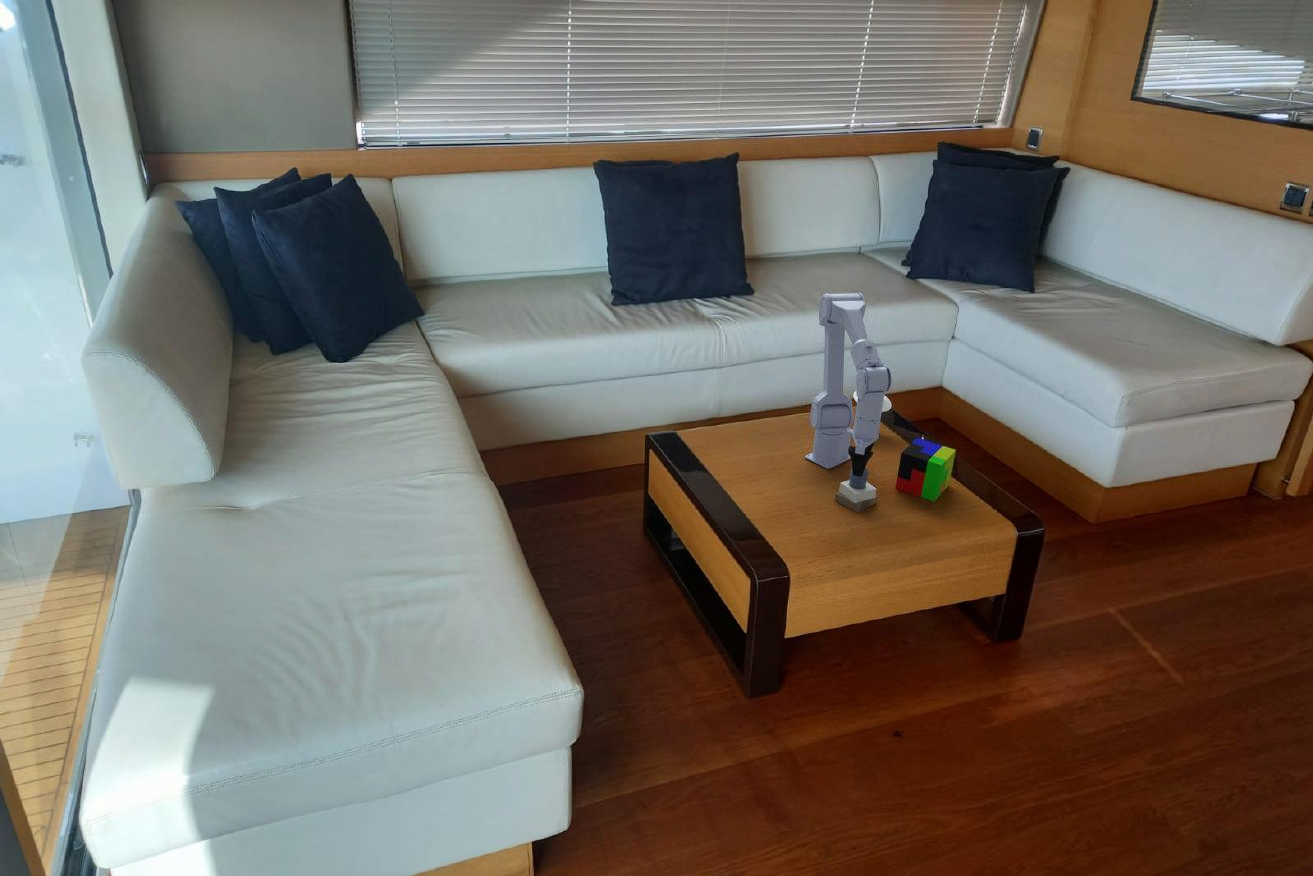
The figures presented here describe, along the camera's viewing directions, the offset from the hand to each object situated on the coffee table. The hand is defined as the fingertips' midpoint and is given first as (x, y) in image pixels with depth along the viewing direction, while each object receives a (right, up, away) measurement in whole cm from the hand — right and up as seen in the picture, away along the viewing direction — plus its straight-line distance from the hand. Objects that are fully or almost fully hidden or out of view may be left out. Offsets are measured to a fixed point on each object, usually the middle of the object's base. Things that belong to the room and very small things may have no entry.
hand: (860, 468), depth 219 cm
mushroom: (+11, +9, +39) cm, 41 cm away
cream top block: (0, -6, +3) cm, 7 cm away
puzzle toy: (+18, -5, +12) cm, 22 cm away
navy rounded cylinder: (0, -4, +2) cm, 5 cm away
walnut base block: (0, -9, +4) cm, 10 cm away
